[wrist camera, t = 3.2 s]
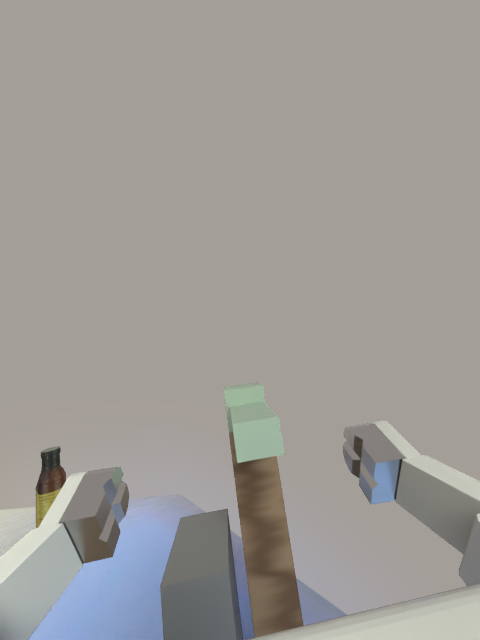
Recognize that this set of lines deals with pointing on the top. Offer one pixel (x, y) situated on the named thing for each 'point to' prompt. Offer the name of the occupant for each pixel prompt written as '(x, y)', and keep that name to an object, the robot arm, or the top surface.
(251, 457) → the green handle
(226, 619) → the gray block
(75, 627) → the top surface
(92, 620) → the top surface
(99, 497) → the robot arm
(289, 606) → the walnut stand
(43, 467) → the sauce bottle
